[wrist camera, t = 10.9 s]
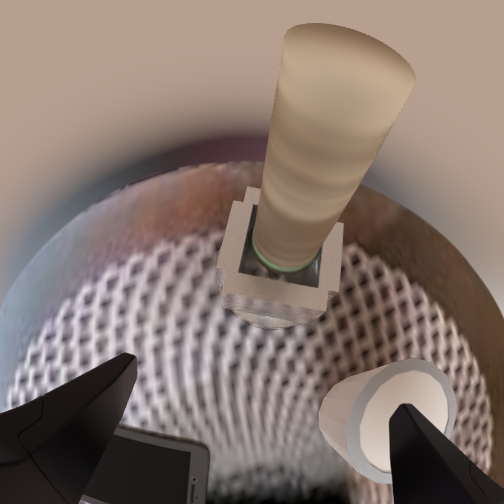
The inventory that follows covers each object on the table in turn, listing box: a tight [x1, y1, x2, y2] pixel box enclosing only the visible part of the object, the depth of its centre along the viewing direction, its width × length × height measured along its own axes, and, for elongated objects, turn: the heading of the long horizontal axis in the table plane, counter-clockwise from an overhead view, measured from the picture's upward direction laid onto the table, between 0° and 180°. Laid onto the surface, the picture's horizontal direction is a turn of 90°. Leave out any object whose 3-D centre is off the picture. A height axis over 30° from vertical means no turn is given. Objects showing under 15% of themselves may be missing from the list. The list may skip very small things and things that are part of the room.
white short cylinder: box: [319, 358, 456, 484], centre depth 15 cm, size 7×7×7 cm
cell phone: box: [81, 426, 210, 504], centre depth 15 cm, size 7×14×1 cm, turn 84°
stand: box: [216, 186, 344, 330], centre depth 19 cm, size 8×8×5 cm
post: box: [252, 23, 416, 275], centre depth 12 cm, size 4×4×12 cm
